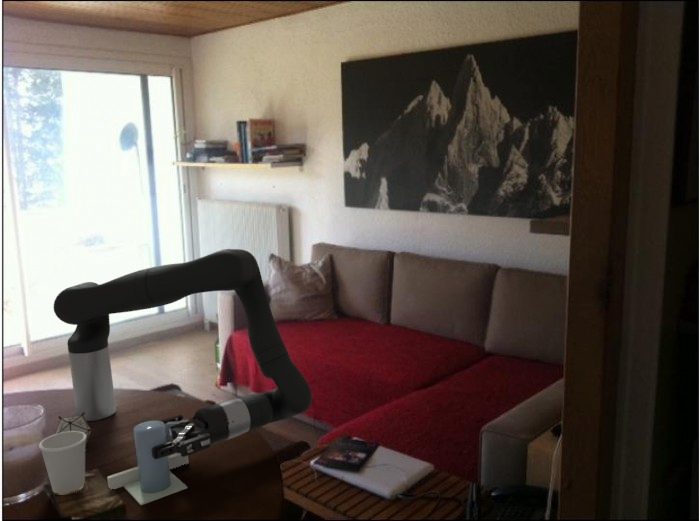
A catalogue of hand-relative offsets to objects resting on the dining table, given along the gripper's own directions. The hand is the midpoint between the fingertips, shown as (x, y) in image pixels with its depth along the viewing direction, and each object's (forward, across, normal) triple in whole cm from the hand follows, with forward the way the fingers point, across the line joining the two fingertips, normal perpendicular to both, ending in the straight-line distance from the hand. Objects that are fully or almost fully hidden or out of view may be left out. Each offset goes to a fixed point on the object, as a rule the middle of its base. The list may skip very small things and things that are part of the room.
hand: (144, 446), depth 122 cm
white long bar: (-2, -6, +9) cm, 11 cm away
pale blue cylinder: (-1, 0, +8) cm, 9 cm away
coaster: (-1, 0, +9) cm, 9 cm away
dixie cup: (+12, -12, +9) cm, 19 cm away
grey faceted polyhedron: (+6, -29, +9) cm, 31 cm away
